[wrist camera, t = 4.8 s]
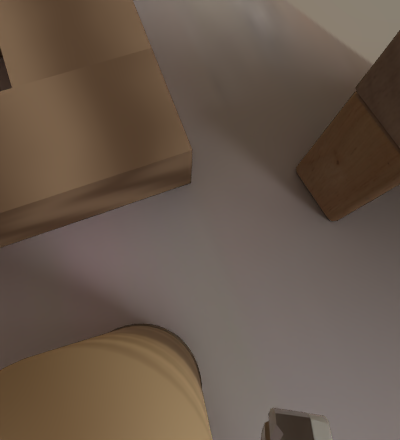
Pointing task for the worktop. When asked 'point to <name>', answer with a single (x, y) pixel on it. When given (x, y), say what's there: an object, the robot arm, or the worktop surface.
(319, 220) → the worktop surface
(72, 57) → the board
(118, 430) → the peg
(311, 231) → the worktop surface
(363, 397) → the worktop surface
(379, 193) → the wooden braced stand
